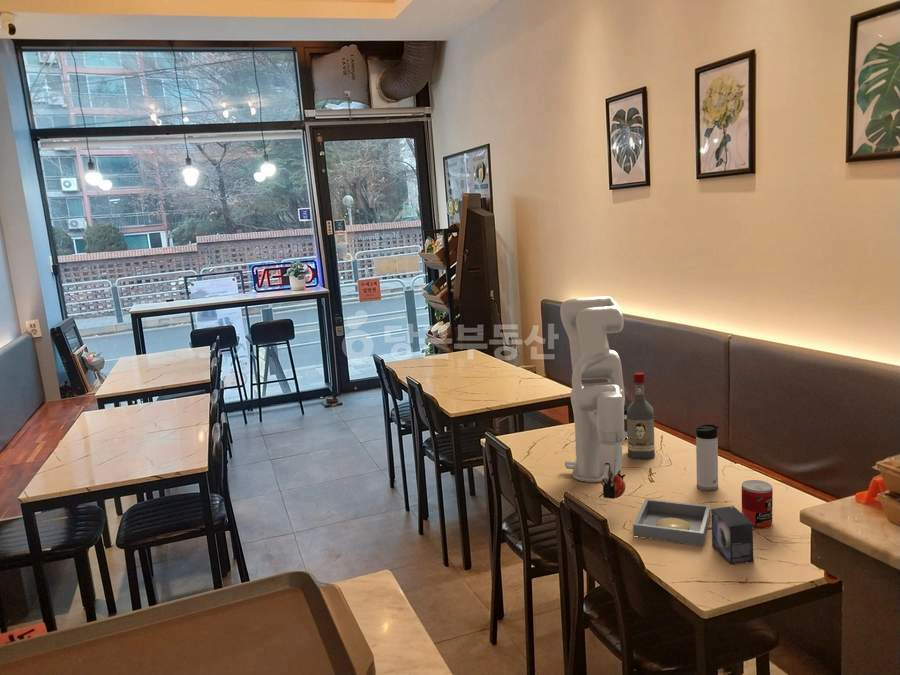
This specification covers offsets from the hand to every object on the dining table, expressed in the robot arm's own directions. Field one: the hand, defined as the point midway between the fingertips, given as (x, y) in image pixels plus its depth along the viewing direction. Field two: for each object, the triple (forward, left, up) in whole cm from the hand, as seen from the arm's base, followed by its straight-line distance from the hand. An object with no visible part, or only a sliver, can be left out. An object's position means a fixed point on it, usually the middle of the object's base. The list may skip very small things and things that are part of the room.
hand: (612, 491), depth 204 cm
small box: (+33, -15, -7) cm, 37 cm away
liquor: (-2, +51, -7) cm, 52 cm away
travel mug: (+23, +27, -7) cm, 37 cm away
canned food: (+38, +5, -7) cm, 39 cm away
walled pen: (+17, -4, -7) cm, 19 cm away
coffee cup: (-13, +69, -7) cm, 71 cm away
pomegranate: (0, 0, -2) cm, 2 cm away
